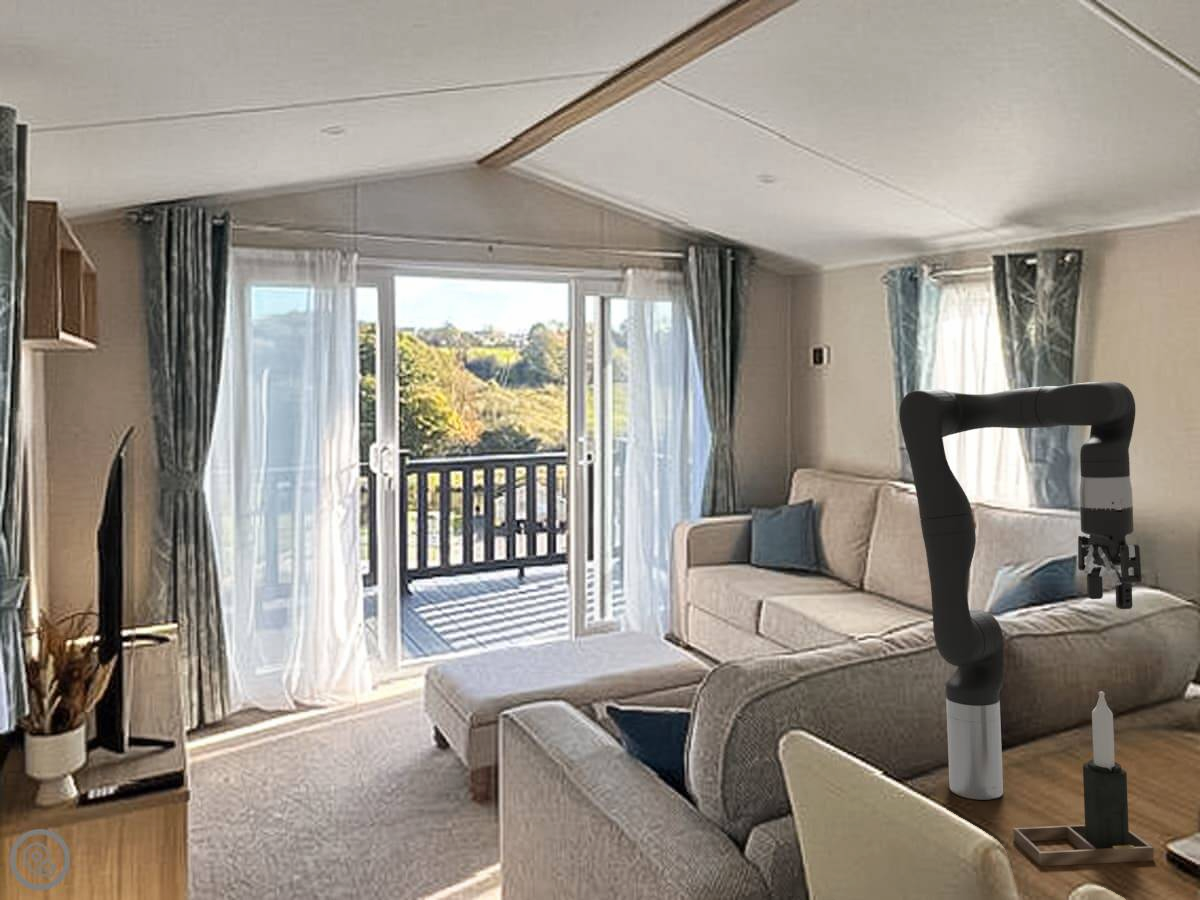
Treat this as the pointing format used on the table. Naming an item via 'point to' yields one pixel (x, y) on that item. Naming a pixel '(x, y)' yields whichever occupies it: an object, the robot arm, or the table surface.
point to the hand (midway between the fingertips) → (1109, 603)
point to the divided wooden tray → (1079, 847)
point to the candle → (1105, 786)
